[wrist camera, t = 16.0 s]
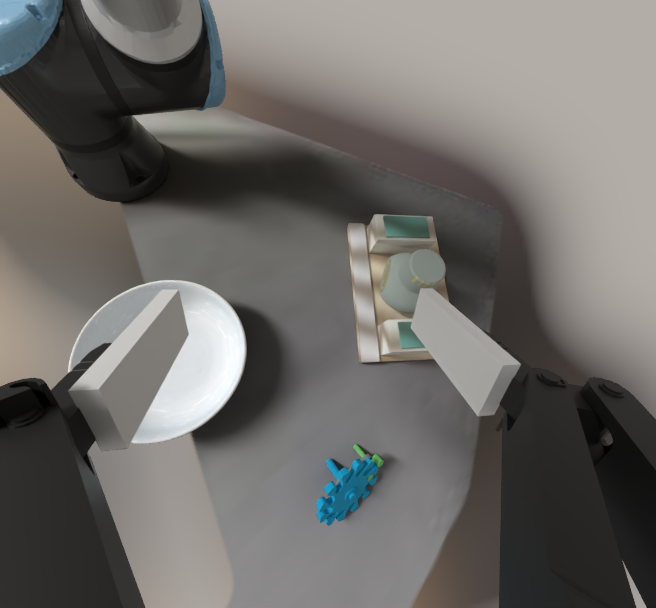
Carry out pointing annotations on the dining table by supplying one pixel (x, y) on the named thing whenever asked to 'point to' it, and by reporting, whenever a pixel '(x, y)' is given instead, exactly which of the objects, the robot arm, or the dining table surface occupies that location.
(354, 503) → the gear
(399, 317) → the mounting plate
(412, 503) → the dining table surface
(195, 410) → the serving bowl
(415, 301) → the air freshener
